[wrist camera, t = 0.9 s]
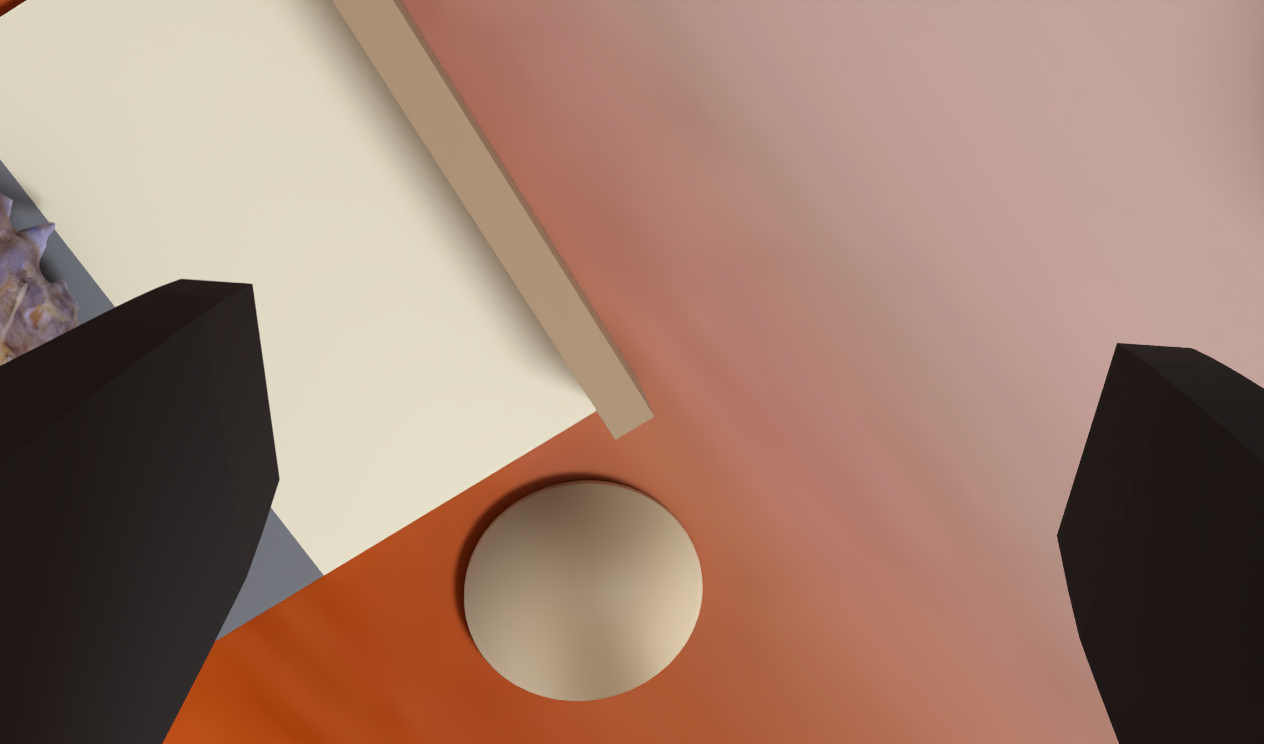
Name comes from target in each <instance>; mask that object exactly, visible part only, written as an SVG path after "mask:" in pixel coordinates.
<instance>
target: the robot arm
mask: <svg viewBox="0 0 1264 744" xmlns="http://www.w3.org/2000/svg"><path fill="white" fill-rule="evenodd" d="M279 480H280V478H279V471H278V464H277V456H276V449H275V442H274V435H273V428H272V420H271V413H270V406H269V399H268V392H267V384H266V377H265V370H264V363H263V356H262V348H261V341H260V334H259V327H258V320H257V312H256V305H255V298H254V291H253V284H250V283H235V282H220V281H206V280H191V279H179V280H176V281H174V282H171V283H168V284H165V285H163V286H160V287H158V288H155V289H153V290H151V291H148V292H146V293H144V294H142V295H140V296H138V297H135V298H133V299H131V300H129V301H127V302H125V303H123V304H121V305H119V306H117V307H115V308H113V309H111V310H109V311H107V312H105V313H103V314H101V315H99V316H97V317H95V318H93V319H91V320H89V321H87V322H85V323H83V324H81V325H79V326H77V327H75V328H73V329H71V330H69V331H67V332H65V333H64V334H62V335H60V336H58V337H56V338H54V339H52V340H50V341H48V342H46V343H44V344H42V345H40V346H38V347H36V348H34V349H32V350H30V351H28V352H26V353H24V354H22V355H20V356H18V357H16V358H14V359H12V360H10V361H9V362H7V363H5V364H3V365H1V366H0V744H162V743H163V741H164V739H165V737H166V736H167V734H168V732H169V730H170V728H171V726H172V724H173V722H174V720H175V718H176V716H177V714H178V712H179V710H180V708H181V706H182V704H183V703H184V701H185V699H186V697H187V695H188V693H189V691H190V689H191V687H192V685H193V683H194V681H195V679H196V677H197V675H198V673H199V671H200V670H201V668H202V666H203V664H204V662H205V660H206V658H207V656H208V654H209V652H210V650H211V648H212V646H213V644H214V642H215V640H216V638H217V636H218V634H219V632H220V630H221V628H222V626H223V624H224V622H225V620H226V618H227V616H228V614H229V612H230V610H231V608H232V606H233V604H234V602H235V600H236V598H237V596H238V594H239V592H240V590H241V588H242V586H243V584H244V582H245V580H246V578H247V575H248V572H249V570H250V567H251V564H252V561H253V558H254V556H255V553H256V550H257V547H258V544H259V542H260V539H261V536H262V533H263V530H264V527H265V524H266V521H267V518H268V514H269V511H270V508H271V505H272V502H273V499H274V496H275V493H276V490H277V486H278V483H279ZM1057 538H1058V543H1059V548H1060V552H1061V557H1062V562H1063V567H1064V572H1065V577H1066V582H1067V587H1068V592H1069V596H1070V600H1071V604H1072V608H1073V613H1074V617H1075V621H1076V625H1077V629H1078V633H1079V637H1080V641H1081V643H1082V646H1083V649H1084V652H1085V654H1086V657H1087V660H1088V663H1089V665H1090V668H1091V671H1092V673H1093V676H1094V679H1095V681H1096V684H1097V687H1098V689H1099V692H1100V695H1101V697H1102V700H1103V703H1104V705H1105V708H1106V711H1107V713H1108V716H1109V718H1110V721H1111V724H1112V726H1113V729H1114V731H1115V734H1116V737H1117V739H1118V742H1119V744H1264V388H1262V387H1260V386H1259V385H1257V384H1255V383H1254V382H1252V381H1251V380H1249V379H1247V378H1246V377H1244V376H1243V375H1241V374H1239V373H1237V372H1236V371H1234V370H1232V369H1231V368H1229V367H1227V366H1226V365H1224V364H1222V363H1220V362H1218V361H1216V360H1215V359H1213V358H1211V357H1209V356H1207V355H1205V354H1203V353H1201V352H1199V351H1197V350H1195V349H1192V348H1181V347H1166V346H1152V345H1137V344H1122V343H1117V345H1116V349H1115V352H1114V355H1113V358H1112V361H1111V365H1110V368H1109V371H1108V374H1107V377H1106V381H1105V384H1104V387H1103V390H1102V393H1101V397H1100V400H1099V403H1098V406H1097V409H1096V413H1095V416H1094V419H1093V422H1092V425H1091V428H1090V432H1089V435H1088V438H1087V441H1086V444H1085V448H1084V451H1083V454H1082V457H1081V460H1080V464H1079V467H1078V470H1077V473H1076V476H1075V480H1074V483H1073V486H1072V489H1071V492H1070V496H1069V499H1068V502H1067V505H1066V508H1065V512H1064V515H1063V518H1062V521H1061V524H1060V528H1059V531H1058V534H1057Z"/></svg>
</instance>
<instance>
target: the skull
mask: <svg viewBox="0 0 1264 744" xmlns="http://www.w3.org/2000/svg"><path fill="white" fill-rule="evenodd" d="M12 202H13V200H11V199H10V198H8V197H6V196H5V195H3V194H2V193H1V192H0V366H1V365H3V364H5V363H7V362H9V361H10V360H12V359H14V358H16V357H18V356H20V355H22V354H24V353H26V352H28V351H30V350H32V349H34V348H36V347H38V346H40V345H42V344H44V343H46V342H48V341H50V340H52V339H54V338H56V337H58V336H60V335H62V334H64V333H65V332H67V331H69V330H71V329H73V328H75V327H77V326H79V321H78V312H79V305H78V302H77V301H76V300H75V298H74V297H73V296H72V295H71V293H70V292H69V290H68V288H67V284H66V283H65V282H64V281H63V280H59V281H58V282H55V283H50V282H48V281H47V280H46V279H45V278H44V277H43V276H42V274H41V272H40V268H39V260H40V258H41V256H42V254H43V252H44V250H45V248H46V241H47V238H48V237H49V236H50V234H51V233H52V232H53V230H54V229H55V225H56V224H55V223H53V222H47V223H41V224H38V225H36V226H33V227H29V228H26V229H22V230H20V231H17V230H16V229H15V228H14V227H13V226H12V224H11V222H10V220H9V216H10V213H11V206H12Z"/></svg>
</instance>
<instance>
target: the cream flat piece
mask: <svg viewBox="0 0 1264 744" xmlns="http://www.w3.org/2000/svg"><path fill="white" fill-rule="evenodd" d="M0 192H1V193H2V194H3V195H5V196H6V197H8V198H10V199H11V200H13V202H12V206H11V213H10V216H9V220H10V222H11V224H12V226H13V227H14V228H15V229H16V230H17V231H20V230H22V229H26V228H29V227H33V226H36V225H38V224H41V223H47V222H53V223H55V224H56V225H55V229H54V230H53V232H52V233H51V234H50V236H49V237H48V238H47V241H46V248H45V250H44V252H43V254H42V256H41V258H40V260H39V268H40V272H41V274H42V276H43V277H44V278H45V279H46V280H47V281H48V282H50V283H55V282H58V281H59V280H63V281H64V282H65V283H66V284H67V288H68V290H69V292H70V293H71V295H72V296H73V297H74V298H75V300H76V301H77V302H78V305H79V312H78V321H79V325H81V324H83V323H85V322H87V321H89V320H91V319H93V318H95V317H97V316H99V315H101V314H103V313H105V312H107V311H109V310H111V309H113V308H115V307H117V306H119V305H121V304H123V303H125V302H127V301H129V300H131V299H133V298H135V297H138V296H140V295H142V294H144V293H146V292H148V291H151V290H153V289H155V288H158V287H160V286H163V285H165V284H168V283H171V282H174V281H176V280H179V279H191V280H206V281H220V282H235V283H250V284H253V291H254V298H255V305H256V312H257V320H258V327H259V334H260V341H261V348H262V356H263V363H264V370H265V377H266V384H267V392H268V399H269V406H270V413H271V420H272V428H273V435H274V442H275V449H276V456H277V464H278V471H279V478H280V480H279V483H278V486H277V490H276V493H275V496H274V499H273V502H272V505H271V508H270V511H269V514H268V518H267V521H266V524H265V527H264V530H263V533H262V536H261V539H260V542H259V544H258V547H257V550H256V553H255V556H254V558H253V561H252V564H251V567H250V570H249V572H248V575H247V578H246V580H245V582H244V584H243V586H242V588H241V590H240V592H239V594H238V596H237V598H236V600H235V602H234V604H233V606H232V608H231V610H230V612H229V614H228V616H227V618H226V620H225V622H224V624H223V626H222V628H221V630H220V632H219V634H218V636H217V638H216V640H218V639H219V638H221V637H223V636H224V635H226V634H228V633H229V632H231V631H233V630H234V629H236V628H238V627H239V626H241V625H243V624H244V623H246V622H248V621H249V620H251V619H253V618H254V617H256V616H257V615H259V614H261V613H262V612H264V611H266V610H267V609H269V608H271V607H272V606H274V605H276V604H277V603H279V602H281V601H282V600H284V599H286V598H287V597H289V596H291V595H292V594H294V593H296V592H297V591H299V590H301V589H302V588H304V587H305V586H307V585H309V584H310V583H312V582H314V581H315V580H317V579H319V578H320V577H322V576H324V575H325V574H327V573H329V572H330V571H332V570H334V569H335V568H337V567H339V566H340V565H342V564H344V563H345V562H347V561H349V560H350V559H352V558H353V557H355V556H357V555H358V554H360V553H362V552H363V551H365V550H367V549H368V548H370V547H372V546H373V545H375V544H377V543H378V542H380V541H382V540H383V539H385V538H387V537H388V536H390V535H392V534H393V533H395V532H396V531H398V530H400V529H401V528H403V527H405V526H406V525H408V524H410V523H411V522H413V521H415V520H416V519H418V518H420V517H421V516H423V515H425V514H426V513H428V512H430V511H431V510H433V509H435V508H436V507H438V506H440V505H441V504H443V503H444V502H446V501H448V500H449V499H451V498H453V497H454V496H456V495H458V494H459V493H461V492H463V491H464V490H466V489H468V488H469V487H471V486H473V485H474V484H476V483H478V482H479V481H481V480H483V479H484V478H486V477H488V476H489V475H491V474H492V473H494V472H496V471H497V470H499V469H501V468H502V467H504V466H506V465H507V464H509V463H511V462H512V461H514V460H516V459H517V458H519V457H521V456H522V455H524V454H526V453H527V452H529V451H531V450H532V449H534V448H536V447H537V446H539V445H540V444H542V443H544V442H545V441H547V440H549V439H550V438H552V437H554V436H555V435H557V434H559V433H560V432H562V431H564V430H565V429H567V428H569V427H570V426H572V425H574V424H575V423H577V422H579V421H580V420H582V419H583V418H585V417H587V416H588V415H590V414H592V413H593V412H595V411H597V412H598V413H599V415H600V417H601V418H602V420H603V421H604V423H605V424H606V426H607V427H608V429H609V430H610V432H611V434H612V435H613V437H614V438H615V440H616V439H618V438H619V437H621V436H623V435H624V434H626V433H628V432H629V431H631V430H633V429H634V428H636V427H638V426H639V425H641V424H643V423H644V422H646V421H648V420H649V419H651V418H653V417H654V414H653V412H652V410H651V407H650V405H649V403H648V401H647V398H646V396H645V394H644V391H643V389H642V387H641V384H640V382H639V380H638V379H637V377H636V376H635V374H634V372H633V371H632V369H631V368H630V366H629V364H628V363H627V361H626V360H625V358H624V356H623V355H622V353H621V352H620V350H619V348H618V347H617V345H616V344H615V342H614V340H613V339H612V337H611V336H610V334H609V332H608V331H607V329H606V328H605V326H604V324H603V323H602V321H601V320H600V318H599V316H598V315H597V313H596V312H595V310H594V308H593V307H592V305H591V304H590V302H589V300H588V299H587V297H586V296H585V294H584V292H583V291H582V289H581V288H580V286H579V284H578V283H577V281H576V280H575V278H574V276H573V275H572V273H571V272H570V270H569V268H568V267H567V265H566V264H565V262H564V260H563V259H562V257H561V256H560V254H559V252H558V251H557V249H556V248H555V246H554V244H553V243H552V241H551V240H550V238H549V236H548V235H547V233H546V232H545V230H544V228H543V227H542V225H541V224H540V222H539V220H538V219H537V217H536V216H535V214H534V212H533V211H532V209H531V208H530V206H529V204H528V203H527V201H526V200H525V198H524V196H523V195H522V193H521V192H520V190H519V189H518V187H517V185H516V184H515V182H514V181H513V179H512V177H511V176H510V174H509V173H508V171H507V169H506V168H505V166H504V165H503V163H502V161H501V160H500V158H499V157H498V155H497V153H496V152H495V150H494V149H493V147H492V145H491V144H490V142H489V141H488V139H487V137H486V136H485V134H484V133H483V131H482V129H481V128H480V126H479V125H478V123H477V121H476V120H475V118H474V117H473V115H472V113H471V112H470V110H469V109H468V107H467V105H466V104H465V102H464V101H463V99H462V97H461V96H460V94H459V93H458V91H457V89H456V88H455V86H454V85H453V83H452V81H451V80H450V78H449V77H448V75H447V73H446V72H445V70H444V69H443V67H442V65H441V64H440V62H439V61H438V59H437V57H436V56H435V54H434V53H433V51H432V49H431V48H430V46H429V45H428V43H427V41H426V40H425V38H424V37H423V35H422V33H421V32H420V30H419V29H418V27H417V25H416V24H415V22H414V21H413V19H412V17H411V16H410V14H409V13H408V11H407V9H406V8H405V6H404V5H403V3H402V1H401V0H26V1H25V2H23V3H21V4H20V5H18V6H17V7H15V8H14V9H12V10H10V11H9V12H7V13H6V14H4V15H3V16H1V17H0ZM216 640H215V641H216Z"/></svg>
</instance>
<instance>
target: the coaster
mask: <svg viewBox="0 0 1264 744" xmlns="http://www.w3.org/2000/svg"><path fill="white" fill-rule="evenodd" d="M702 590H703V586H702V573H701V568H700V563H699V559H698V557H697V554H696V551H695V549H694V546H693V543H692V541H691V539H690V538H689V536H688V534H687V532H686V530H685V529H684V527H683V526H682V525H681V523H680V522H679V521H678V519H677V518H676V517H675V516H674V515H673V514H672V513H671V512H670V511H669V510H668V509H667V508H666V507H664V506H663V505H662V504H660V503H659V502H658V501H656V500H655V499H654V498H652V497H650V496H648V495H646V494H645V493H643V492H641V491H638V490H636V489H633V488H631V487H629V486H625V485H621V484H618V483H614V482H607V481H599V480H577V481H569V482H563V483H559V484H555V485H550V486H547V487H545V488H542V489H539V490H537V491H534V492H532V493H530V494H528V495H527V496H525V497H523V498H521V499H519V500H518V501H516V502H515V503H513V504H512V505H511V506H509V507H508V508H506V509H505V510H504V511H503V512H502V513H501V514H500V515H499V516H498V517H496V518H495V520H494V521H493V522H492V523H491V524H490V525H489V527H488V528H487V529H486V530H485V532H484V533H483V535H482V536H481V538H480V539H479V541H478V542H477V544H476V547H475V549H474V551H473V553H472V555H471V558H470V561H469V564H468V567H467V571H466V577H465V584H464V607H465V615H466V620H467V624H468V627H469V631H470V633H471V635H472V638H473V640H474V642H475V644H476V646H477V647H478V649H479V651H480V652H481V654H482V655H483V657H484V658H485V659H486V660H487V661H488V663H489V664H490V665H491V666H492V667H493V668H494V669H495V670H496V671H497V672H498V673H500V674H501V675H502V676H503V677H504V678H506V679H507V680H509V681H510V682H512V683H513V684H515V685H517V686H519V687H521V688H523V689H525V690H527V691H529V692H532V693H535V694H537V695H540V696H544V697H548V698H553V699H558V700H568V701H588V700H596V699H603V698H607V697H611V696H615V695H618V694H621V693H623V692H626V691H629V690H631V689H633V688H635V687H637V686H639V685H641V684H643V683H645V682H646V681H648V680H649V679H651V678H652V677H654V676H655V675H657V674H658V673H659V672H660V671H661V670H663V669H664V668H665V667H666V666H667V665H668V664H669V663H670V662H671V661H672V660H673V659H674V658H675V657H676V656H677V655H678V653H679V652H680V651H681V649H682V648H683V646H684V645H685V644H686V642H687V640H688V639H689V637H690V635H691V633H692V631H693V629H694V626H695V624H696V621H697V618H698V616H699V611H700V607H701V602H702Z"/></svg>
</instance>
